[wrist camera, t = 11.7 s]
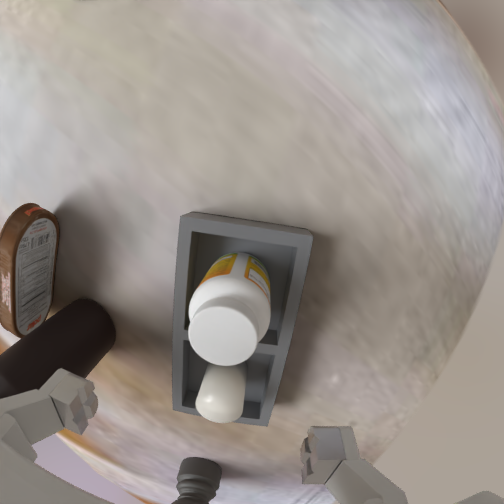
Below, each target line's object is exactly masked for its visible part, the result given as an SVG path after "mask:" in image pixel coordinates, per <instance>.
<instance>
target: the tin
mask: <svg viewBox="0 0 504 504" xmlns="http://www.w3.org/2000/svg"><path fill="white" fill-rule="evenodd" d="M58 243H59V225H58V222H57V219H56V217H55V216H54V215H53V214H52V213H51V212H49V211H47V210H46V209H43V208H41V207H40V206H39V205H37V204H35V203H27V204H24V205H22V206H20V207H19V208H17V209H16V210H15V211H14V212H13V213H12V214H11V215H10V216H9V218H8V219H7V221H6V223H5V224H4V226H3V228H2V231H1V233H0V323H1V325H2V326H3V328H4V329H6V330H7V331H10V332H11V333H13V334H14V335H15V336H17V337H19V338H21V339H22V338H23V337H24V336H26V335H27V334H28V333H30V332H31V331H33V330H34V329H35V328H37V327H38V326H39V325H41V324H42V323H43V322H45V320H46V318H47V316H48V313H49V310H50V307H51V303H52V298H53V286H54V275H55V266H56V257H57V250H58Z"/></svg>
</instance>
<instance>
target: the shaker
mask: <svg viewBox="0 0 504 504" xmlns="http://www.w3.org/2000/svg"><path fill="white" fill-rule="evenodd" d="M247 371H248V367H247V364H246V362H245V361H244V362H242V363H239V364H236V365H231V366H222V365H216V364H213V363H210V362H209V363H208V366H207V369H206V372H205V375H204V378H203V381H202V384H201V387H200V390H199V393H198V396H197V399H196V409H197V411H198V412H199V413H200V414H201V415H202V416H203V417H204V418H206V419H208V420H210V421H213V422H217V423H229V422H233V421H235V420H237V419H238V418H239V417H240V416H241V415H242V412H243V404H244V396H245V388H246V379H247Z"/></svg>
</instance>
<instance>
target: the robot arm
mask: <svg viewBox="0 0 504 504" xmlns="http://www.w3.org/2000/svg"><path fill="white" fill-rule="evenodd" d="M94 389H95V387H94V384H93V382H91V381H89V380H87V379H85V378H82V377H80V376H78V375H75V374H73V373H71V372H69V371H66V370H64V369H62V368H61V369H58V370H57V371H56V372H55V373H54V374H53V375H52V376H51V377H50V378H49V379H48V381H47V382H46V383H45V384H44V385H43V386H42V387H41V388H40V389H39V390H37V389H34V390H31V391H28V392H24V393H21V394H17V395H14V396H10V397H6V398H3V399H0V504H114V503H112V502H109V501H107V500H104V499H102V498H99V497H97V496H95V495H93V494H91V493H88V492H86V491H84V490H82V489H80V488H78V487H76V486H74V485H72V484H70V483H68V482H66V481H64V480H63V479H61V478H59V477H57V476H56V475H54V474H52V473H50V472H49V471H47V470H45V469H44V468H42V467H40V466H39V465H37V464H35V463H34V461H35V460H36V458H37V453H36V452H35V450H34V449H33V447H32V446H31V445H32V444H34V443H36V442H38V441H41V440H43V439H44V438H46V437H49V436H51V435H52V434H55V433H57V432H58V431H60V430H62V429H64V428H66V429H68V430H71V431H73V432H75V433H77V434H80V435H82V434H83V432H84V431H85V429H86V427H87V426H88V419H90V418H92V417H94V415H95V413H96V411H97V408H98V399H97V396H96V395H95V393H94V392H93V390H94ZM300 456H301V462H302V463H303V464H304V466H303V468H302V470H301V471H302V484H325V486H326V488H327V489H328V490H329V491H330V493H331V494H332V495H333V496H334V497H335V499H336V500H337V501H338V502H339V503H340V504H408V502H407V498H406V495H405V492H404V491H403V490H401V489H400V488H399V487H397V486H396V485H395V484H394V483H393V482H391V481H390V480H389V479H388V478H386V477H385V476H384V475H383V474H382V473H380V472H379V471H378V470H377V469H376V468H375V467H373V466H372V465H371V464H370V463H369V462H367V461H366V460H365V459H361V458H360V454H359V450H358V447H357V443H356V439H355V436H354V432H353V428H352V427H351V426H338V427H337V426H311V427H310V428H309V430H308V437H307V438H305V439H304V441H303V443H302V447H301V455H300ZM454 504H504V499H503V498H501V497H500V496H498V495H496V494H494V493H492V492H489V491H482V492H480V493H477V494H475V495H473V496H471V497H469V498H466V499H464V500H462V501H459V502H457V503H454Z"/></svg>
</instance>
